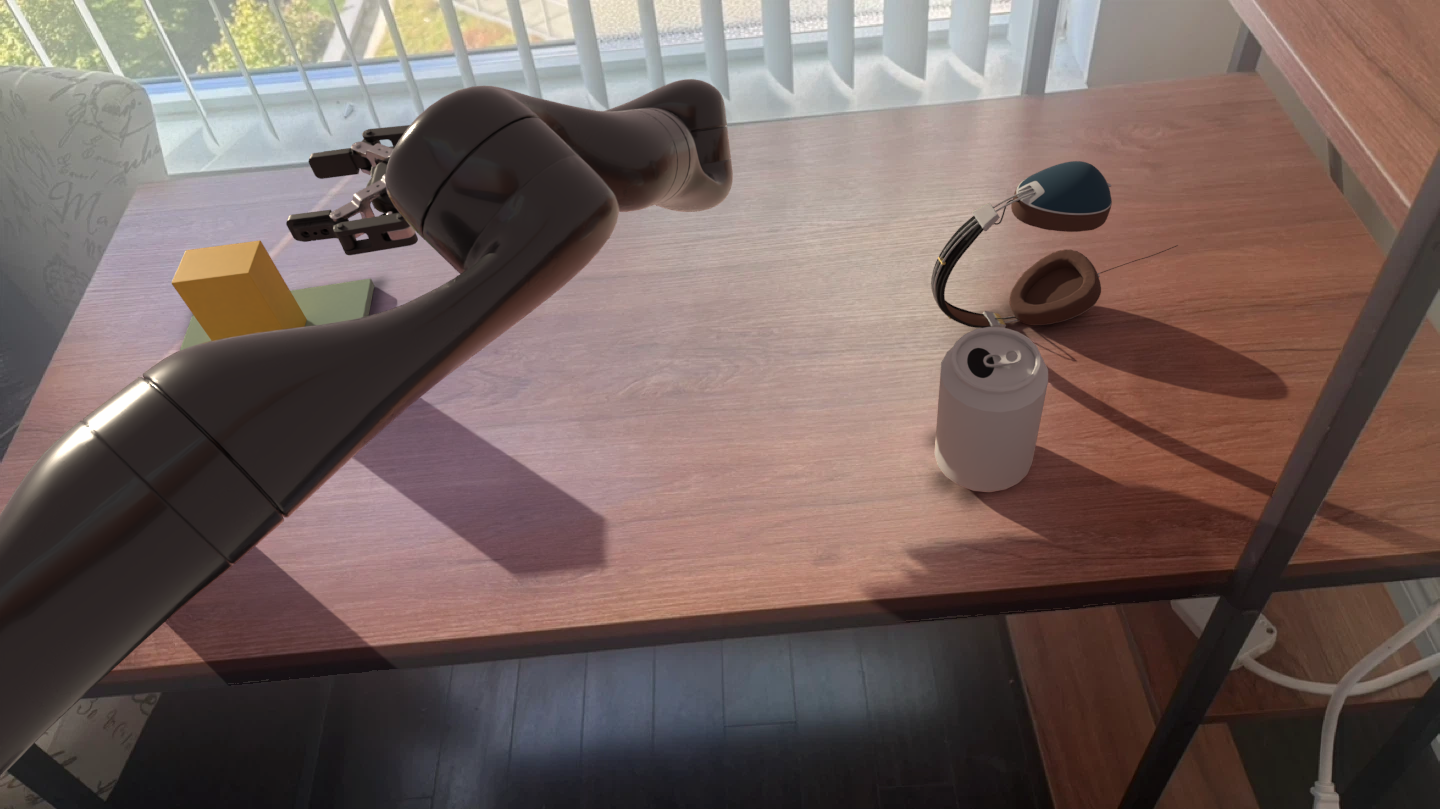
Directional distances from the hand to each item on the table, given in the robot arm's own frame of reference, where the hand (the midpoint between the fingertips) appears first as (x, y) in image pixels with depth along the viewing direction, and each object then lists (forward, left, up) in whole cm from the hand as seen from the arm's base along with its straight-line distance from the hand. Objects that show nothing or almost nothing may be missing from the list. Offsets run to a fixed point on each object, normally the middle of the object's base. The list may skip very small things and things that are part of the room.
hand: (302, 196), depth 85 cm
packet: (-10, +1, -16) cm, 19 cm away
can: (+52, -25, -17) cm, 60 cm away
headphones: (+62, -10, -17) cm, 65 cm away
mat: (-10, 0, -17) cm, 19 cm away
